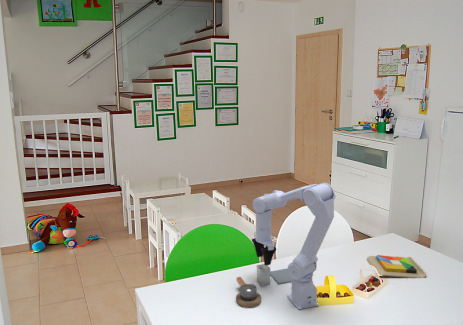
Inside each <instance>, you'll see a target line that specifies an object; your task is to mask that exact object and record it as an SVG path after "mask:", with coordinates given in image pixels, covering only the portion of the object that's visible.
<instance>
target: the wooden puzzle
mask: <svg viewBox="0 0 463 325" xmlns="http://www.w3.org/2000/svg"><path fill="white" fill-rule="evenodd" d="M366 261H367V263H368V265H372V266H374V267H375V268H376V269H377V271H378V273H379V274H380V275H382V277H391V278H392V277H394V278H407V279H408V278H409V279H425V278H426V277H427V272H426V271H425V270H424V269H423V268H422V267H421V266H420V264H418V263H417V262H416V260H415V259H413V258H412V257H411V256H407V257H406V256H405V257H404V256H403V257H402V256H390V255H382V254H379V255H378V254H377V255H369V256H367V258H366Z"/></svg>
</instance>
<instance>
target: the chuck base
mask: <svg viewBox="0 0 463 325" xmlns="http://www.w3.org/2000/svg"><path fill="white" fill-rule="evenodd" d="M235 303H236V304H237V305H238V306H239V307H242V308H246V309H248V308H249V309H251V308H253V309H254V308H256V307H258V306H260V304H262V295H261V294H260V293H259V292H257V298H256V299H255V300H252V301H246V300H243V299H241V298H240V292H238V293H237V294H236V295H235Z"/></svg>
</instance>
